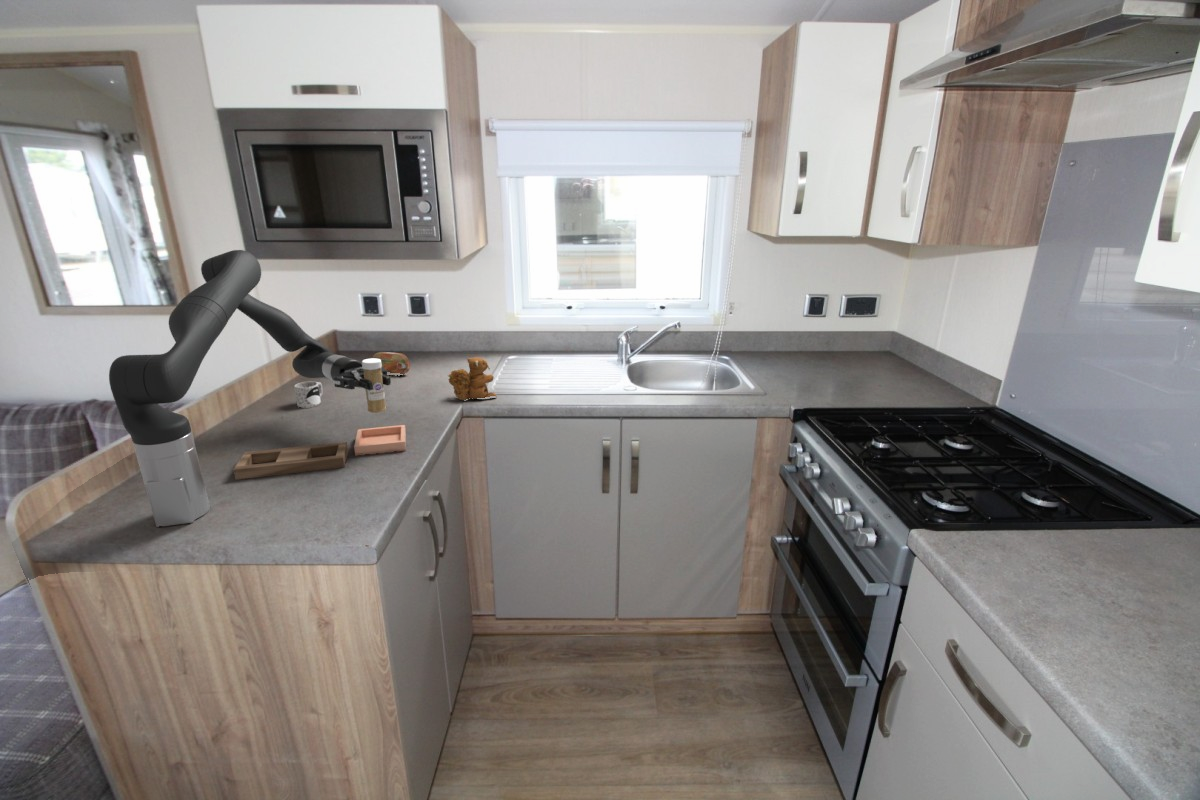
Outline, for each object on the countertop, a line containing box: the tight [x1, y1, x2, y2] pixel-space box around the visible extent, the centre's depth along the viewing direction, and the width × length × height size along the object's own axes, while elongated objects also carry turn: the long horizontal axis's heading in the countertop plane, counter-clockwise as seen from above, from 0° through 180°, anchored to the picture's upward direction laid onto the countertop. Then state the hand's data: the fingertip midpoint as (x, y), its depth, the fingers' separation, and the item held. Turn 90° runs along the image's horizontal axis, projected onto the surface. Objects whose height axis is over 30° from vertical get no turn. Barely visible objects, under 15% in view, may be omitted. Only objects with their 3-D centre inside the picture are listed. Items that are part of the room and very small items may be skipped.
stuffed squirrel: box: [447, 356, 497, 401], centre depth 184 cm, size 10×14×13 cm
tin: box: [371, 351, 411, 375], centre depth 208 cm, size 15×3×8 cm, turn 73°
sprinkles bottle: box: [361, 357, 387, 414], centre depth 144 cm, size 5×5×13 cm
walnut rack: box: [233, 441, 349, 480], centre depth 137 cm, size 10×23×2 cm, turn 108°
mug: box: [293, 380, 324, 409], centre depth 178 cm, size 10×7×7 cm
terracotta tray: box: [353, 424, 407, 457], centre depth 149 cm, size 12×12×2 cm
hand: (380, 383), depth 142 cm, fingers closed on sprinkles bottle, 4 cm apart
